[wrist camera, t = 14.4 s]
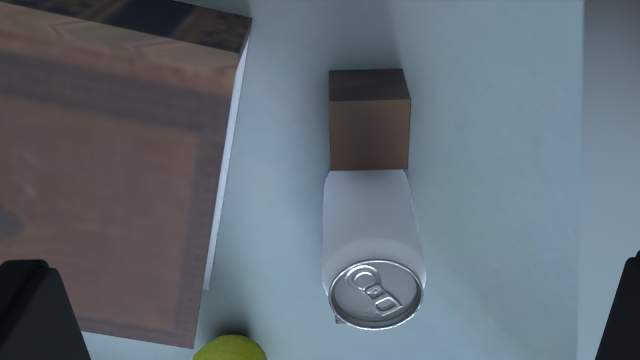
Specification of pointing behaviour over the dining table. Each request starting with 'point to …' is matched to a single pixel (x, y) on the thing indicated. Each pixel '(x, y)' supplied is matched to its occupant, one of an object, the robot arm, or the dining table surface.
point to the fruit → (231, 349)
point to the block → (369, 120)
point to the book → (119, 153)
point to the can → (371, 248)
